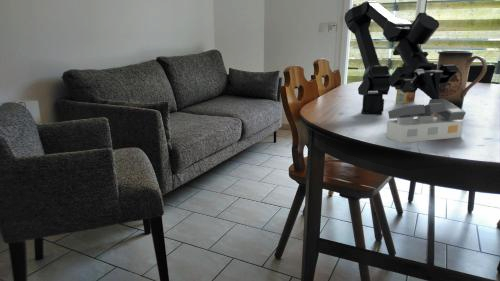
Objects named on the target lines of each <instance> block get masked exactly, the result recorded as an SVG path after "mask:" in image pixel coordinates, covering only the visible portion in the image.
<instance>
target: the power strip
mask: <svg viewBox="0 0 500 281" xmlns="http://www.w3.org/2000/svg"><path fill="white" fill-rule="evenodd" d="M436 114H437V115H436V116H435V114H431V115H420V116H418V117H416V118H415V117H412V116H407V117H397V118H396V119H394V120H393V119H392V120H387V121H386V132H385V137H386V138H387V139H390V140H392V141H394V142H397V143H399V144H405V143H414V142H424V141H434V140H435V141H436V140H446V139H455V138H456V139H457V138H462V134H463V126H464V120H463V119H461V120H449V121H448V120H447V119H445V118H444V117H443V116H441V115H440V114H438V113H436Z"/></svg>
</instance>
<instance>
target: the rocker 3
mask: <svg viewBox="0 0 500 281" xmlns="http://www.w3.org/2000/svg"><path fill="white" fill-rule="evenodd" d="M435 103H445V107H446V111H445V112H440V113H437V114H440V115H441V116H443V117H444V118H445V119H447V120H448V121H449V120H463V119H464V118H465V116H466V113H467V112H466V111H464V110H463V109H461V108H460V107H458V106H457V105H455V104H454V103H452V102H451V101H449V100H447V99H446V98H439V99H431V98H429V101H428V104H435Z"/></svg>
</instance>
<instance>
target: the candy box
mask: <svg viewBox="0 0 500 281" xmlns="http://www.w3.org/2000/svg"><path fill="white" fill-rule="evenodd" d="M403 64H404V63H400V64H399V67H402V65H403ZM416 91H417V90H416ZM416 91H415V92H406V93H403V92H402V91H401V90H396V94H395V95H396V96H395V103H396V104H402V105H405V104H409V103H412V102H415V98H416V97H415V96H416Z"/></svg>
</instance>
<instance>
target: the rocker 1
mask: <svg viewBox="0 0 500 281" xmlns="http://www.w3.org/2000/svg"><path fill="white" fill-rule="evenodd" d="M424 106H425V104H421V103H420V104H411V105H410V104H409V105H405V106H402V107H398V108H395V109H392V110H388V119H389V120H390V119H391V120H393V119H394V120H395V119H397V117H407V116H414V115H418V114H422V113H425V107H424Z"/></svg>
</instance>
